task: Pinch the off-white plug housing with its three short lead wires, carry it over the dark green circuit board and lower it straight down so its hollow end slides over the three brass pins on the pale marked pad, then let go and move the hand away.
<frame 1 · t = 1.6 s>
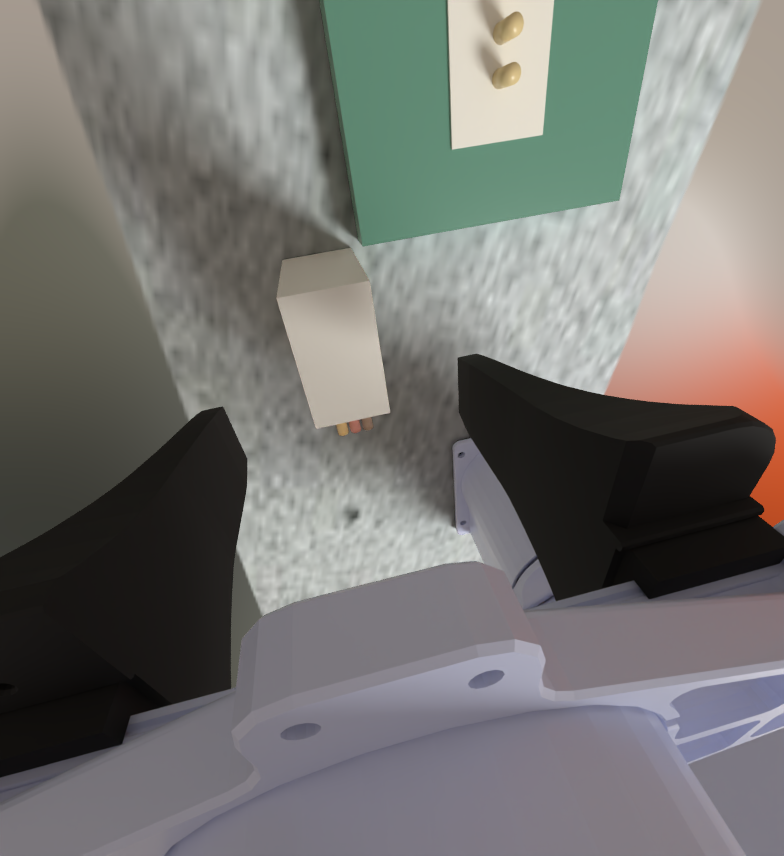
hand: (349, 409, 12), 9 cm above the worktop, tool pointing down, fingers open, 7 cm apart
plug housing: (330, 311, 19), on the worktop
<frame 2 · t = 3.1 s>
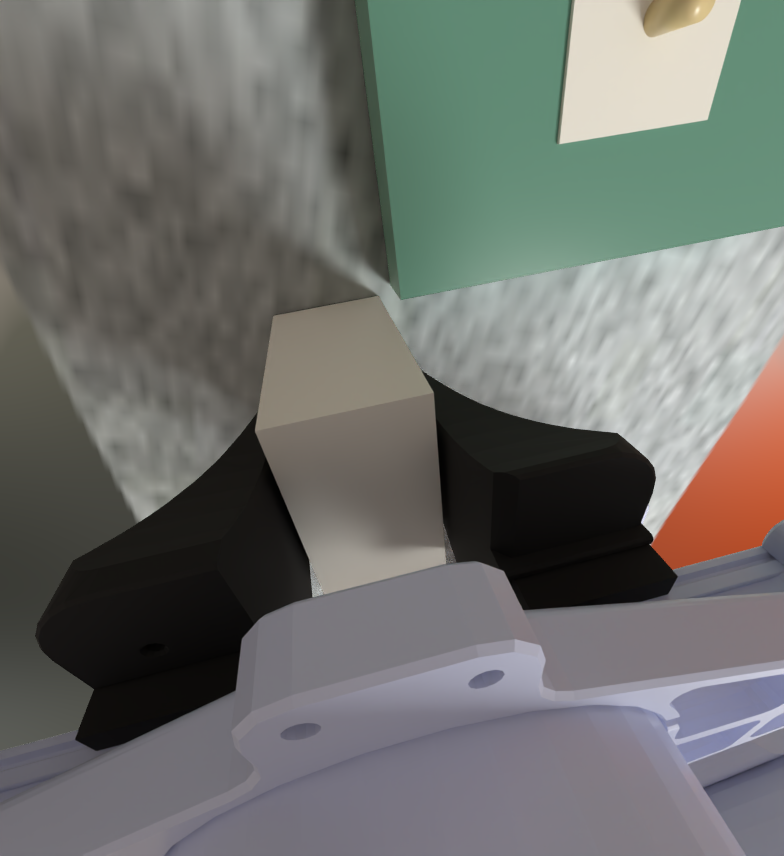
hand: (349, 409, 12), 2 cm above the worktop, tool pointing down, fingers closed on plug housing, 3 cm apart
plug housing: (344, 384, 13), on the worktop, touching gripper
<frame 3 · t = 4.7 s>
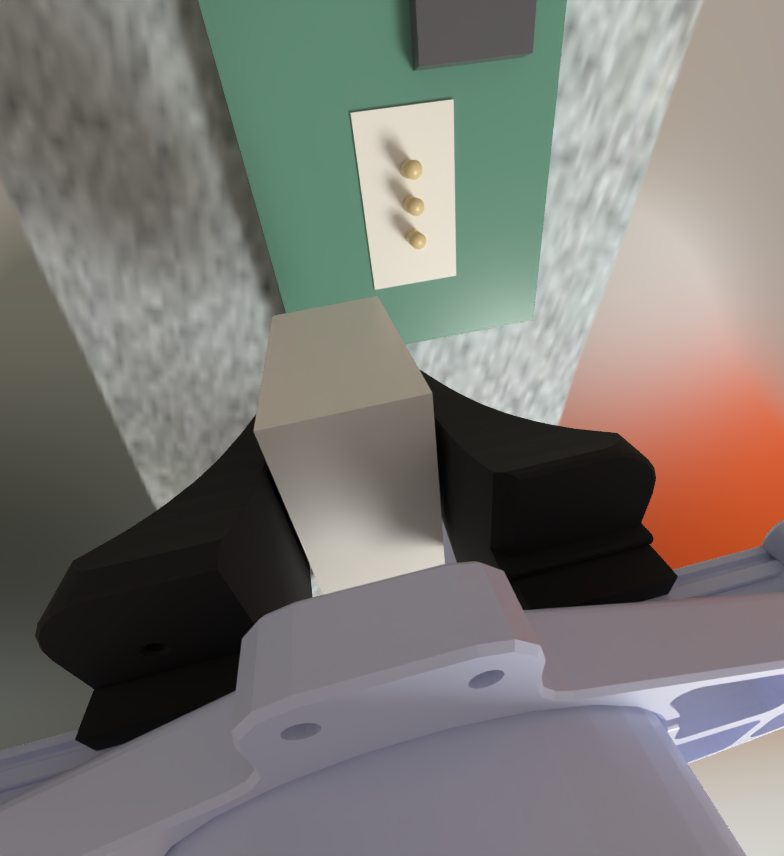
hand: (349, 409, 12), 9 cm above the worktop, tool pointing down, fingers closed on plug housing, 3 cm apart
circuit board: (396, 144, 16), on the worktop
plug housing: (343, 384, 13), point 7 cm above the worktop, touching gripper
when the fingers open (3 cm above the worktop, at t = 6.3 s): plug housing stays where it is, resting on circuit board.
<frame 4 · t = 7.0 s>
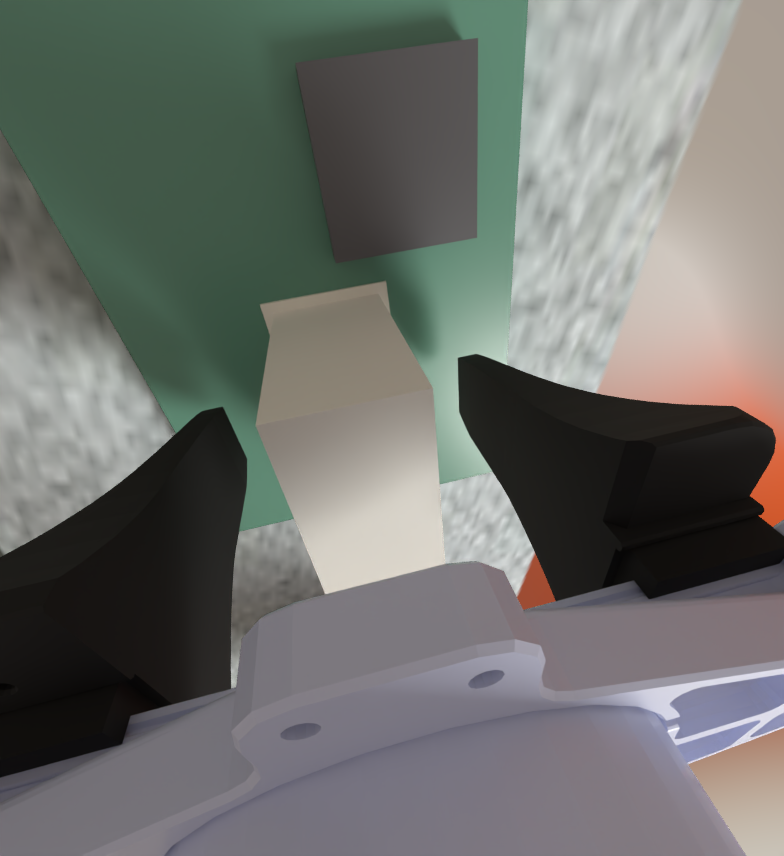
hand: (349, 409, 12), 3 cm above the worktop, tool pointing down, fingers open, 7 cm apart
circuit board: (328, 311, 13), on the worktop
plug housing: (344, 382, 13), point 2 cm above the worktop, touching circuit board
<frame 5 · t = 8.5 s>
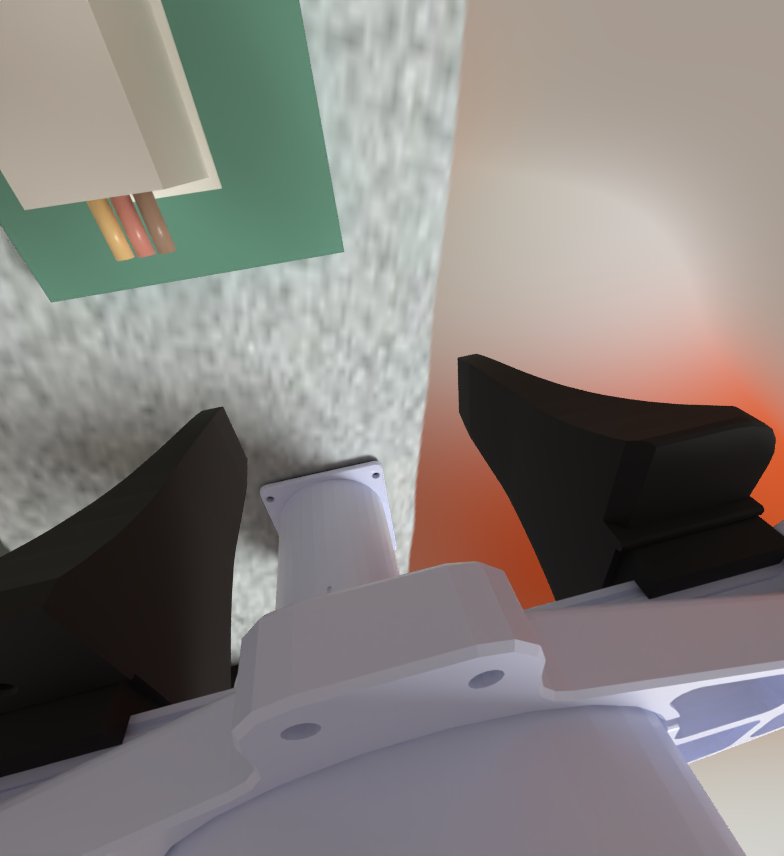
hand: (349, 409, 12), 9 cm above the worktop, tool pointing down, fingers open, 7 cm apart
circuit board: (110, 11, 13), on the worktop
plug housing: (125, 83, 12), point 2 cm above the worktop, touching circuit board
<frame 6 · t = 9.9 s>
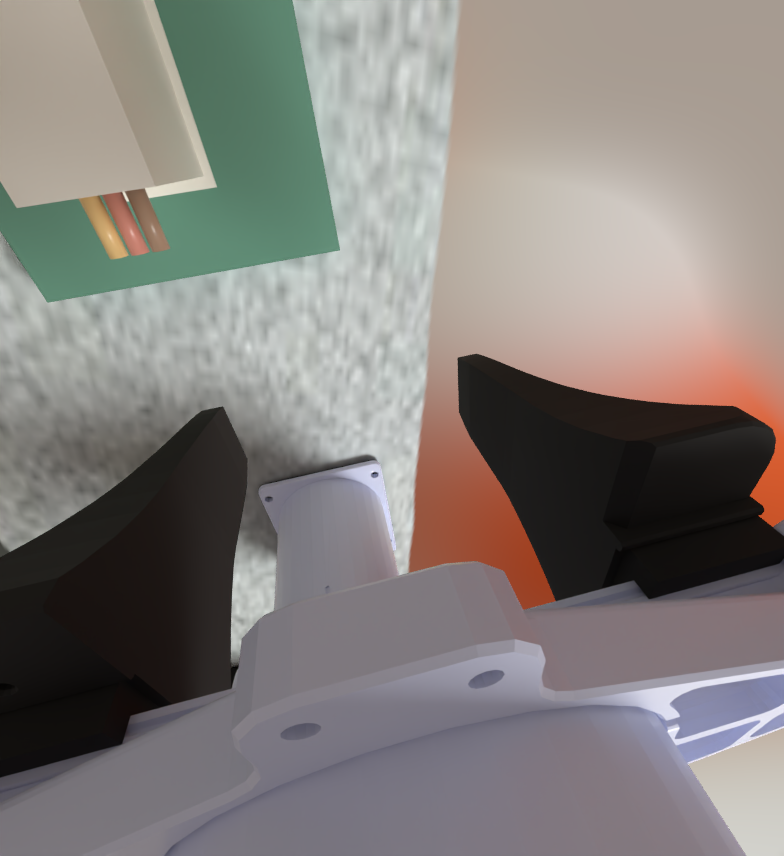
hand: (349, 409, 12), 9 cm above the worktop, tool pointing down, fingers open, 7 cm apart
circuit board: (104, 10, 13), on the worktop
plug housing: (118, 83, 12), point 2 cm above the worktop, touching circuit board
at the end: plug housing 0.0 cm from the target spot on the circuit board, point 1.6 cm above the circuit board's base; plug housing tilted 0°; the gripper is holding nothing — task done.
